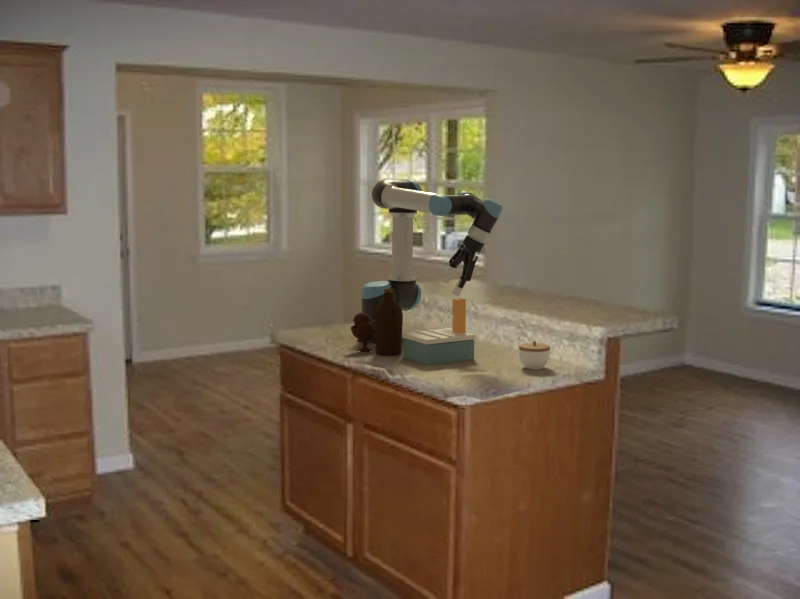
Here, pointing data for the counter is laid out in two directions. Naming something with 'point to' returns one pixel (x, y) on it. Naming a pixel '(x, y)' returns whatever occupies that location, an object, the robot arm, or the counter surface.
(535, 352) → the lidded jar
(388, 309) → the olive oil
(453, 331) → the lid
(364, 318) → the ice cream bowl
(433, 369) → the counter surface
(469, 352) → the tub
